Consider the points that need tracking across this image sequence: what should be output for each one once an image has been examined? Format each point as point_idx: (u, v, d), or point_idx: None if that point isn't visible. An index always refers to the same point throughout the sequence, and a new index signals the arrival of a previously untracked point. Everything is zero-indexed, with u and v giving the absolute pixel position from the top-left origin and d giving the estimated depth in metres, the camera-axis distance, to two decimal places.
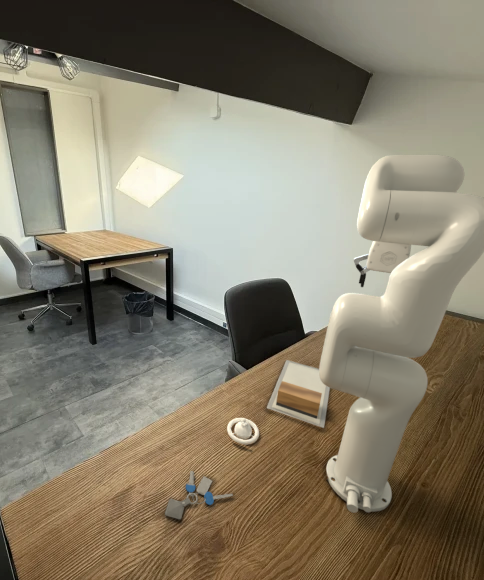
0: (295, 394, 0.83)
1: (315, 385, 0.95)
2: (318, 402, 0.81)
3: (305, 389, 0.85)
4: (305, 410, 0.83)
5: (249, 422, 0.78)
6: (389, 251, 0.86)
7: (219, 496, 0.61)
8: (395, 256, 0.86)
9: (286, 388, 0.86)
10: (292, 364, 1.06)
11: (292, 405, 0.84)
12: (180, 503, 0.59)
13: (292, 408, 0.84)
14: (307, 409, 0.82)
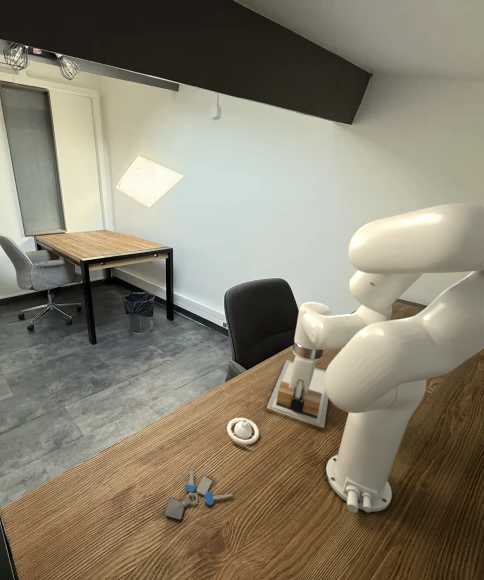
0: None
1: (315, 385, 0.95)
2: (318, 402, 0.81)
3: None
4: (305, 410, 0.83)
5: (249, 422, 0.78)
6: None
7: (219, 496, 0.61)
8: None
9: (286, 388, 0.86)
10: (292, 364, 1.06)
11: None
12: (180, 503, 0.59)
13: None
14: (307, 409, 0.82)
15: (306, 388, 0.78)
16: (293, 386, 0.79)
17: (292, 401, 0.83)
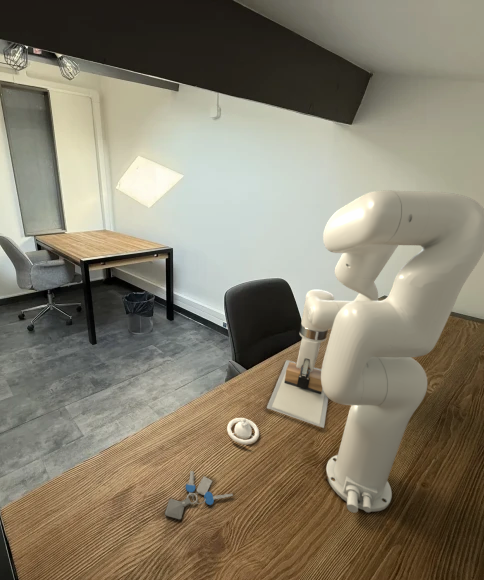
0: None
1: None
2: None
3: None
4: (311, 387, 0.92)
5: (249, 422, 0.78)
6: None
7: (219, 496, 0.61)
8: (299, 349, 0.91)
9: (293, 368, 0.95)
10: None
11: None
12: (180, 503, 0.59)
13: None
14: (312, 386, 0.92)
15: (312, 366, 0.87)
16: (300, 365, 0.89)
17: (299, 379, 0.92)
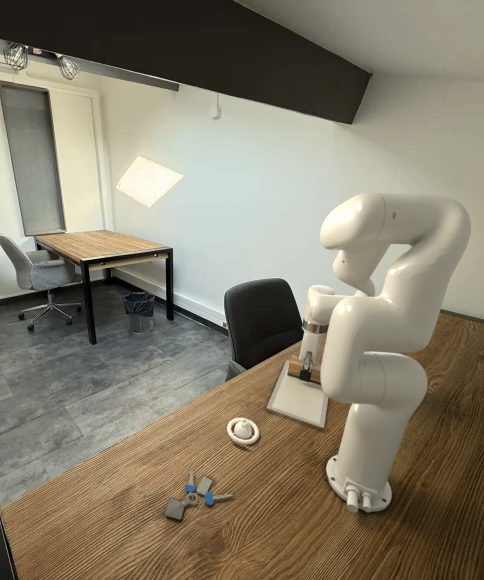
0: None
1: (315, 385, 0.95)
2: None
3: None
4: (312, 378, 0.96)
5: (249, 422, 0.78)
6: None
7: (219, 496, 0.61)
8: None
9: (295, 361, 0.99)
10: None
11: None
12: (180, 503, 0.59)
13: None
14: (314, 377, 0.96)
15: (314, 359, 0.91)
16: (303, 354, 0.92)
17: (301, 372, 0.94)
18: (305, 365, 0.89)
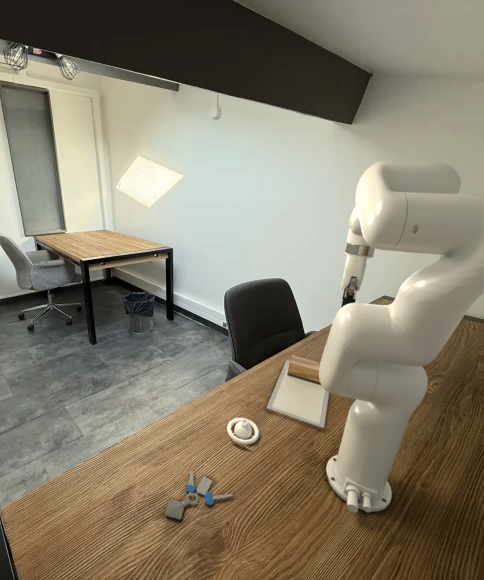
0: (304, 365, 0.97)
1: (315, 385, 0.95)
2: None
3: (312, 361, 0.99)
4: (312, 378, 0.96)
5: (249, 422, 0.78)
6: None
7: (219, 496, 0.61)
8: (344, 270, 0.88)
9: (295, 361, 0.99)
10: None
11: (301, 375, 0.97)
12: (180, 503, 0.59)
13: (301, 377, 0.98)
14: (314, 377, 0.96)
15: (359, 284, 0.84)
16: (347, 280, 0.85)
17: (343, 301, 0.87)
18: (350, 290, 0.82)
